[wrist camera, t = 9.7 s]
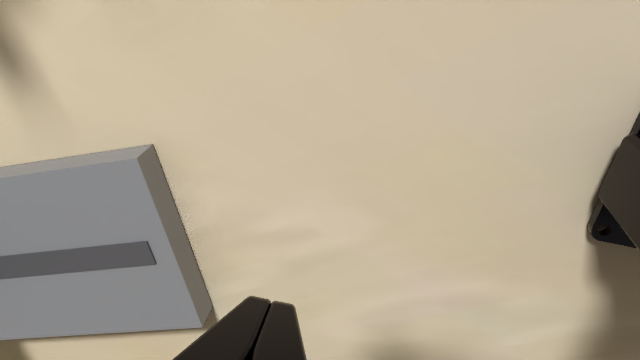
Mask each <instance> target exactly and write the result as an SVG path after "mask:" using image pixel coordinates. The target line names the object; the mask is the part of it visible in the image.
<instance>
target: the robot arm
mask: <svg viewBox="0 0 640 360" xmlns="http://www.w3.org/2000/svg"><path fill="white" fill-rule="evenodd" d="M598 196H599V198H600V199H599V202H598V204H597V206H596V208H595V210H594V212H593V214H592V216H591V219H590V221H589V223H588V230H589V232H590V233H591V235H592V236H593V237H594V238H595V239H596V240H599V241H603V242H608V243H614V244H619V245H624V246H629V247H634V248H637V249H638V250H639V251H640V114H639V116H638V119H637V121H636V123H635V125H634V127H633V129H632V131H631V133H630V134H629V135H628V136H626V137H625V138H624V139H623V141H622V143H621V145H620V147H619V149H618V151H617V153H616V156H615V158H614V160H613V162H612V164H611V166H610V168H609V171H608V173H607V175H606V177H605V179H604V181H603V184H602V186H601V188H600V190H599V192H598ZM603 225H608V226H607V228H606V229H604V230H600V231H598V229H599V228H600V227H601V226H603ZM173 360H307V359H306V355H305V350H304V346H303V341H302V337H301V332H300V328H299V323H298V318H297V314H296V309H295V307H294V305H292V304H289V303H284V302H279V301H273V302H272V303H271V301H270V300H269V299H265V298H260V297H255V296H249V297H247V298H246V299H245V300H244V301H242V302H241V303H240V304H239V305H238V306H236V307H235V308H234V309H233V310H232V311H230V312H229V313H228V314H227V315H226V316H224V317H223V318H222V319H221V320H220V321H218V322H217V323H216V324H215V325H214V326H212V327H211V328H210V329H209V330H208V331H206V332H205V333H204V334H203V335H202V336H200V337H199V338H198V339H197V340H196V341H194V342H193V343H192V344H191V345H189V346H188V347H187V348H186V349H185V350H183V351H182V352H181V353H180V354H179V355H177V356H176V357H175V358H174V359H173Z"/></svg>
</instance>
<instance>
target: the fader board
mask: <svg viewBox="0 0 640 360" xmlns="http://www.w3.org/2000/svg"><path fill="white" fill-rule="evenodd" d="M212 307H213V306H212V303H211V300H210V298H209V295H208V292H207V290H206V287H205V284H204V281H203V279H202V276H201V273H200V271H199V268H198V265H197V262H196V260H195V257H194V254H193V252H192V249H191V246H190V244H189V241H188V238H187V235H186V233H185V230H184V227H183V225H182V222H181V219H180V217H179V214H178V211H177V208H176V206H175V203H174V200H173V198H172V195H171V192H170V189H169V187H168V184H167V181H166V179H165V176H164V173H163V171H162V168H161V165H160V162H159V160H158V157H157V154H156V152H155V149H154V146H153V144H151V145H144V146H138V147H131V148H124V149H118V150H111V151H105V152H98V153H91V154H85V155H78V156H71V157H65V158H58V159H52V160H45V161H38V162H32V163H25V164H18V165H12V166H5V167H0V340H9V339H25V338H41V337H57V336H73V335H89V334H105V333H121V332H137V331H153V330H169V329H185V328H201V327H203V325H204V323H205V321H206V319H207V317H208V315H209V313H210V311H211V309H212Z"/></svg>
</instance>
